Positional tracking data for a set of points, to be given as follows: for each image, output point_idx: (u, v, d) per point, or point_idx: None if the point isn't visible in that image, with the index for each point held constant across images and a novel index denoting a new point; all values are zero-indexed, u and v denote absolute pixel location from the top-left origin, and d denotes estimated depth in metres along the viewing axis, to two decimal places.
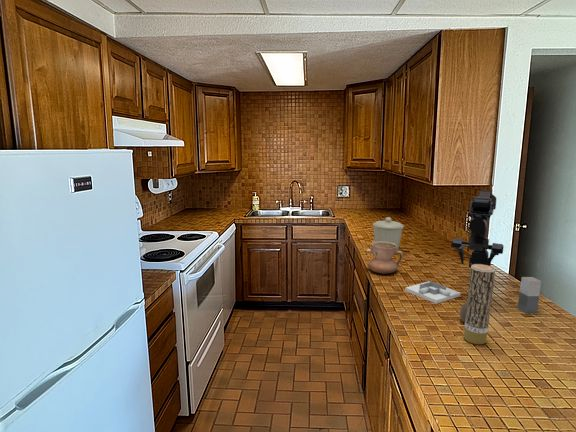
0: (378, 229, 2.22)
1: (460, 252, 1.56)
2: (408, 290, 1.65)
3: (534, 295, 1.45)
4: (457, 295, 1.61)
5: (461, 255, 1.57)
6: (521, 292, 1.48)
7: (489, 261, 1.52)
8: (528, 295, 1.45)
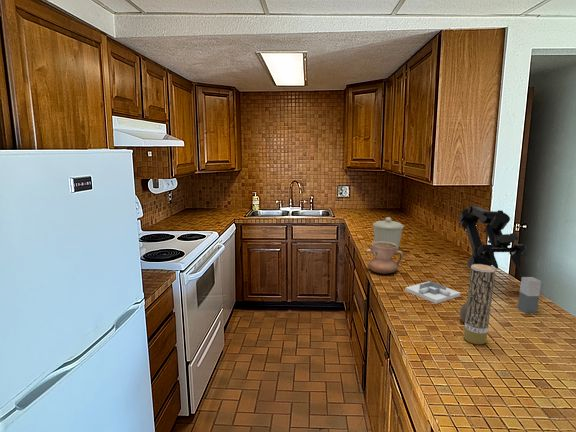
0: (378, 229, 2.22)
1: (492, 255, 1.58)
2: (408, 290, 1.65)
3: (534, 295, 1.45)
4: (457, 295, 1.61)
5: (494, 258, 1.58)
6: (521, 292, 1.48)
7: (518, 260, 1.58)
8: (528, 295, 1.45)
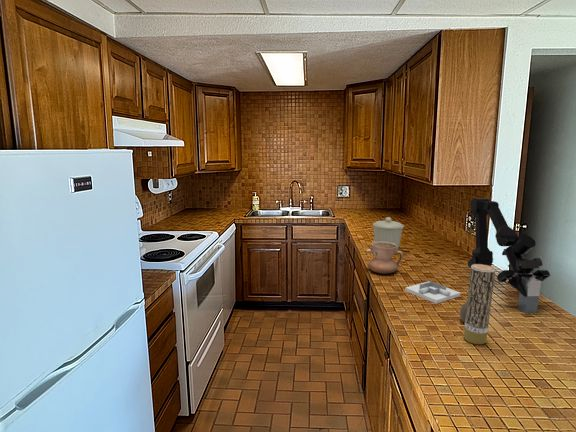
0: (378, 229, 2.22)
1: (520, 282, 1.47)
2: (408, 290, 1.65)
3: (534, 295, 1.45)
4: (457, 295, 1.61)
5: (522, 285, 1.47)
6: None
7: None
8: (528, 295, 1.45)
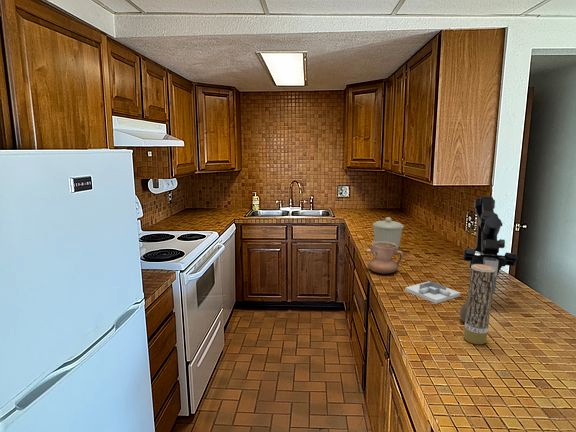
0: (378, 229, 2.22)
1: (480, 261, 1.50)
2: (408, 290, 1.65)
3: None
4: (457, 295, 1.61)
5: None
6: None
7: (498, 268, 1.47)
8: None
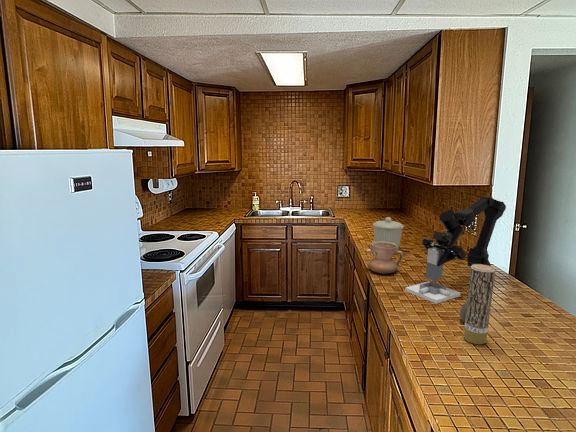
0: (378, 229, 2.22)
1: None
2: (408, 290, 1.65)
3: (432, 263, 1.60)
4: (457, 295, 1.61)
5: None
6: None
7: (441, 258, 1.59)
8: (427, 261, 1.62)
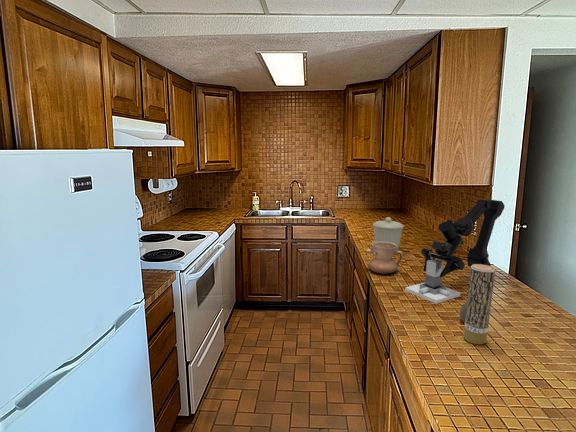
0: (378, 229, 2.22)
1: (426, 259, 1.67)
2: (408, 290, 1.65)
3: (431, 275, 1.61)
4: (457, 295, 1.61)
5: (426, 262, 1.66)
6: None
7: (444, 269, 1.58)
8: (426, 273, 1.63)
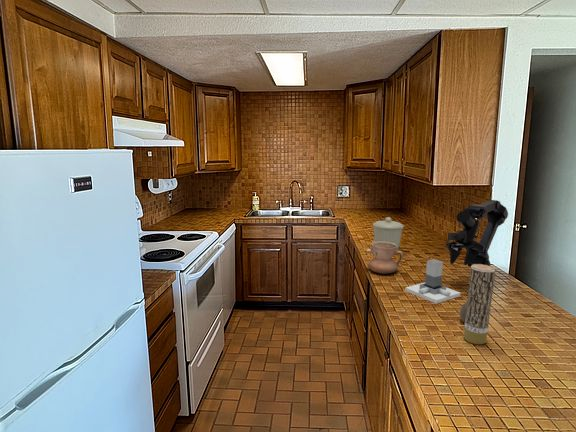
0: (378, 229, 2.22)
1: (450, 251, 1.72)
2: (408, 290, 1.65)
3: (431, 275, 1.61)
4: (457, 295, 1.61)
5: (451, 254, 1.71)
6: None
7: (466, 257, 1.61)
8: (426, 273, 1.63)
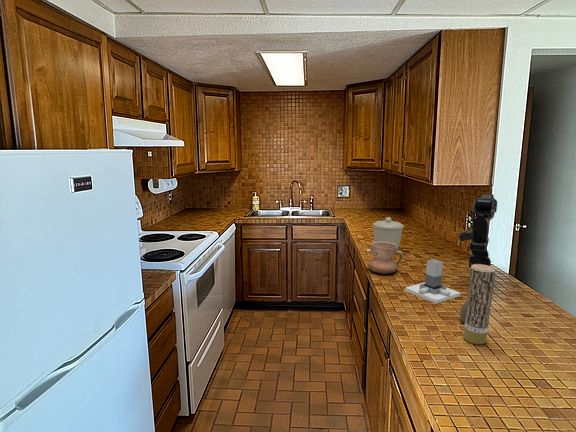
0: (378, 229, 2.22)
1: None
2: (408, 290, 1.65)
3: (431, 275, 1.61)
4: (457, 295, 1.61)
5: None
6: None
7: (474, 256, 1.64)
8: (426, 273, 1.63)
